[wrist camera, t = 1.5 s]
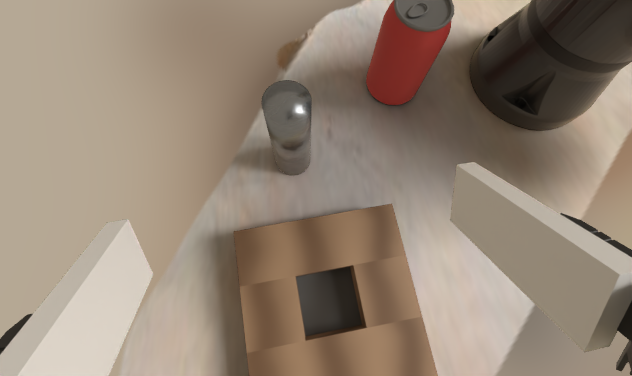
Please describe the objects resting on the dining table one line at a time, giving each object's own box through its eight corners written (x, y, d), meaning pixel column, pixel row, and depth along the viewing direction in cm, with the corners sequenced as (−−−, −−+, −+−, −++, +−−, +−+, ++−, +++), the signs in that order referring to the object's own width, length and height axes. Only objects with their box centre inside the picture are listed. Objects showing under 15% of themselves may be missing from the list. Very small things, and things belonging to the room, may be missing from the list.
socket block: (383, 211, 35) (392, 203, 32) (424, 369, 30) (438, 380, 27) (240, 236, 34) (233, 231, 30) (260, 406, 29) (254, 422, 26)
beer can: (354, 80, 40) (374, -2, 29) (392, 55, 41) (425, -33, 30) (388, 116, 39) (423, 45, 27) (426, 90, 40) (475, 11, 28)
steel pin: (306, 141, 37) (306, 77, 26) (312, 172, 36) (315, 119, 25) (273, 146, 37) (258, 84, 25) (278, 177, 36) (265, 127, 24)
